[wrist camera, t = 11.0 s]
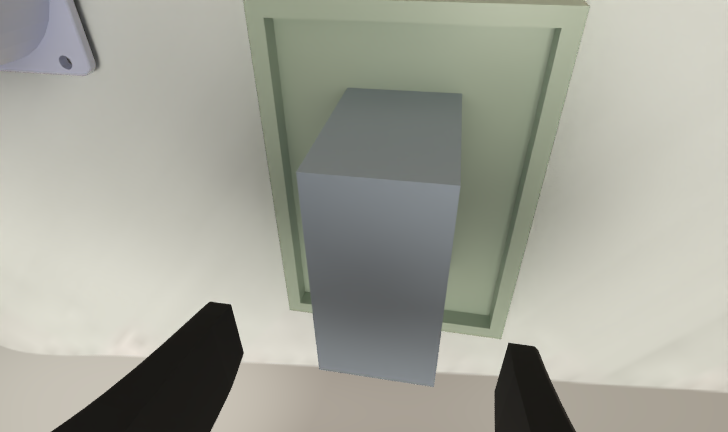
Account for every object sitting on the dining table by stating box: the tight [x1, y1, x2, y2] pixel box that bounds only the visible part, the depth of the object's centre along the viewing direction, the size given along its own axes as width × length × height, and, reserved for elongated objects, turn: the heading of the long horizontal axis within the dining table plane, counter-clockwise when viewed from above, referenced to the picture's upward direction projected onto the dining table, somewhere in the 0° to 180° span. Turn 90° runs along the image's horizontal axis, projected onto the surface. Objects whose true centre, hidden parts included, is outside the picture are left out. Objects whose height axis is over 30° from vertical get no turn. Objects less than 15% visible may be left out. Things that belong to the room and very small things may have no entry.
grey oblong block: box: [296, 88, 462, 387], centre depth 16 cm, size 4×9×6 cm, turn 1°
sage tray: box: [243, 0, 590, 339], centre depth 18 cm, size 10×14×1 cm
